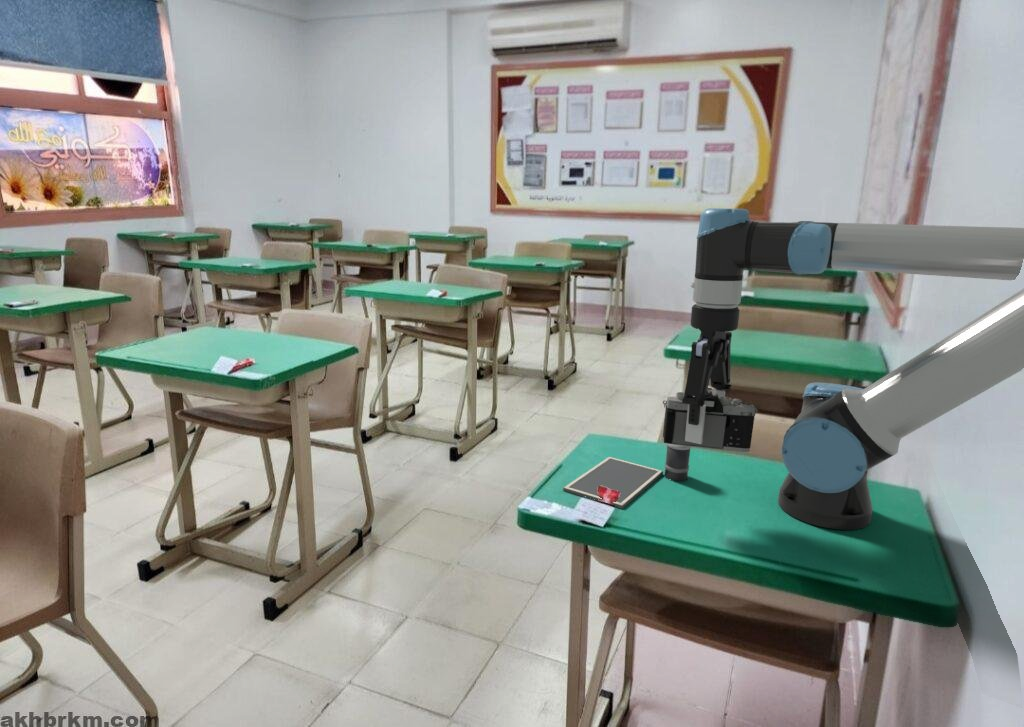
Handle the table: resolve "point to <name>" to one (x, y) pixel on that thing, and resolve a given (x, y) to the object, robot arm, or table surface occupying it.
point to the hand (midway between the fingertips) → (704, 433)
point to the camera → (712, 422)
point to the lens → (677, 462)
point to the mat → (615, 480)
